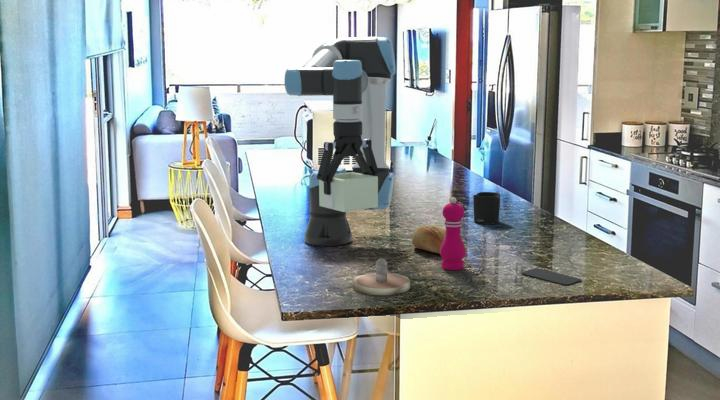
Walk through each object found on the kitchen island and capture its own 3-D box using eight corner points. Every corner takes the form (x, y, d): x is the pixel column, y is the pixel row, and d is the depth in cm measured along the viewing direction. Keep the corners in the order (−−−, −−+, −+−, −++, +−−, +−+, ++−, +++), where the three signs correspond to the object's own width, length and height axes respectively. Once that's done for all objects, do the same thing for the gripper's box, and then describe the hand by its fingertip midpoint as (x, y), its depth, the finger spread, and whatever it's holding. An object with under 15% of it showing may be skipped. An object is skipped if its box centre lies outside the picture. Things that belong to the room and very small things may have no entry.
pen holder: (468, 220, 282) (468, 192, 280) (492, 218, 285) (492, 191, 283) (480, 225, 273) (480, 197, 272) (504, 223, 276) (505, 195, 274)
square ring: (352, 201, 215) (352, 172, 214) (377, 206, 206) (377, 176, 205) (319, 205, 208) (318, 175, 207) (344, 212, 200) (343, 180, 198)
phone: (567, 284, 203) (519, 272, 214) (567, 288, 204) (519, 275, 215) (583, 279, 208) (536, 267, 219) (583, 282, 208) (535, 270, 219)
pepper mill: (463, 263, 226) (464, 195, 222) (467, 270, 218) (468, 199, 215) (438, 264, 225) (438, 195, 222) (441, 271, 218) (442, 200, 214)
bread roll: (436, 259, 231) (436, 232, 230) (403, 249, 243) (403, 223, 241) (460, 253, 237) (460, 227, 235) (427, 244, 249) (427, 219, 247)
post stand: (384, 275, 215) (384, 248, 214) (422, 287, 203) (422, 259, 202) (340, 285, 206) (340, 257, 204) (377, 299, 194) (377, 269, 193)
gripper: (318, 123, 194) (319, 211, 197) (392, 119, 207) (392, 201, 211) (301, 122, 199) (303, 207, 203) (374, 117, 213) (374, 197, 217)
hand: (348, 204), depth 207 cm, fingers closed on square ring, 11 cm apart
